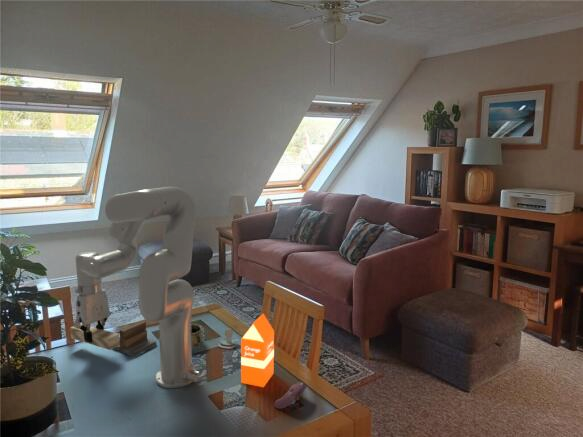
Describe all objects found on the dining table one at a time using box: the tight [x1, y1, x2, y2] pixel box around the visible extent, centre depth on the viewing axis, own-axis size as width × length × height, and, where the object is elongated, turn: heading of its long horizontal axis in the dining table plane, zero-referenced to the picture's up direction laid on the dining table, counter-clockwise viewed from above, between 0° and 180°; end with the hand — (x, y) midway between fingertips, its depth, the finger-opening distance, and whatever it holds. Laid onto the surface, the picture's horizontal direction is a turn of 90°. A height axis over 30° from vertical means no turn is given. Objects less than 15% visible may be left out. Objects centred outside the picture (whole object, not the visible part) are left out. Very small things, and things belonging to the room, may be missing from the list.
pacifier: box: [217, 327, 239, 350], centre depth 160 cm, size 7×6×6 cm
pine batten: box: [69, 323, 120, 351], centre depth 151 cm, size 20×4×4 cm, turn 61°
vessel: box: [191, 323, 203, 350], centre depth 160 cm, size 12×9×6 cm
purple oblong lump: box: [274, 381, 308, 410], centre depth 125 cm, size 10×5×7 cm, turn 148°
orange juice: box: [240, 313, 275, 388], centre depth 137 cm, size 8×9×20 cm
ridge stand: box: [112, 320, 157, 357], centre depth 157 cm, size 12×10×8 cm
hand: (94, 338), depth 151 cm, fingers closed on pine batten, 4 cm apart
